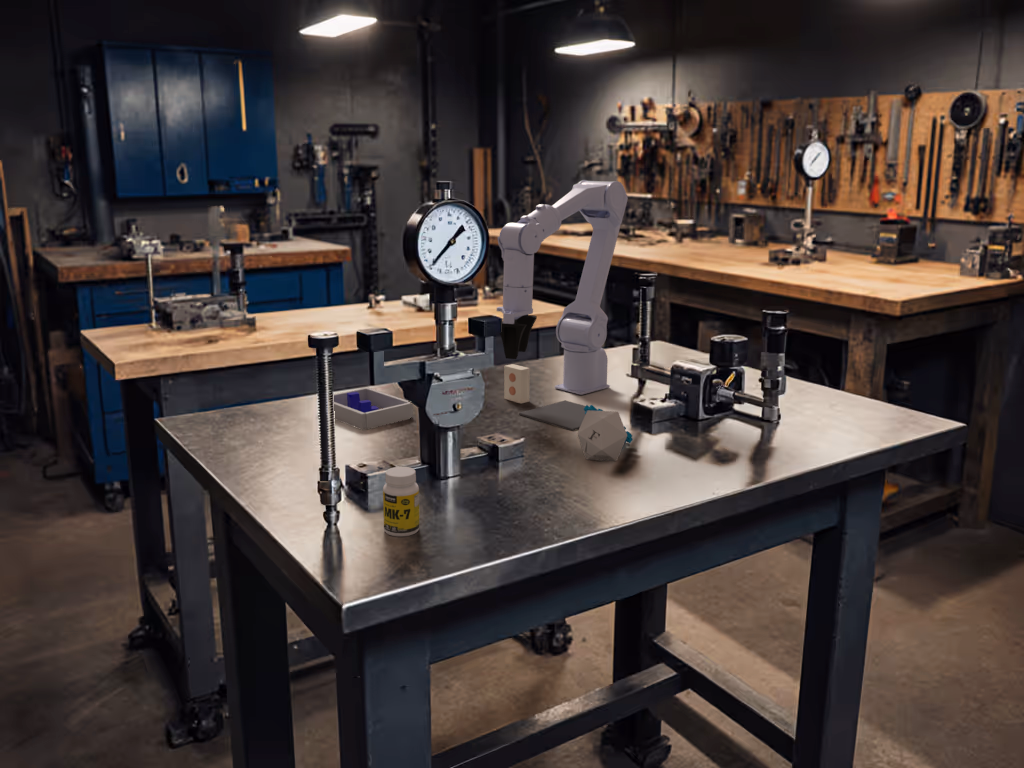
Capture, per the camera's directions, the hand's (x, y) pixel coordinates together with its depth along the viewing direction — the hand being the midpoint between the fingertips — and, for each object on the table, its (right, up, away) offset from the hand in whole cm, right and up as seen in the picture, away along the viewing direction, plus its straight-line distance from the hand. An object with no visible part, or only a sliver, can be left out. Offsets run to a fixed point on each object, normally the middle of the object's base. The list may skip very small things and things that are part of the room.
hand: (515, 354), depth 172 cm
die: (+14, -18, -26) cm, 34 cm away
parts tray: (-29, -12, -3) cm, 31 cm away
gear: (+16, -16, -19) cm, 29 cm away
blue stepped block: (-29, -12, -3) cm, 32 cm away
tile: (0, -9, +8) cm, 12 cm away
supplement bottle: (-16, -26, -54) cm, 62 cm away
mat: (+10, -12, -3) cm, 16 cm away
